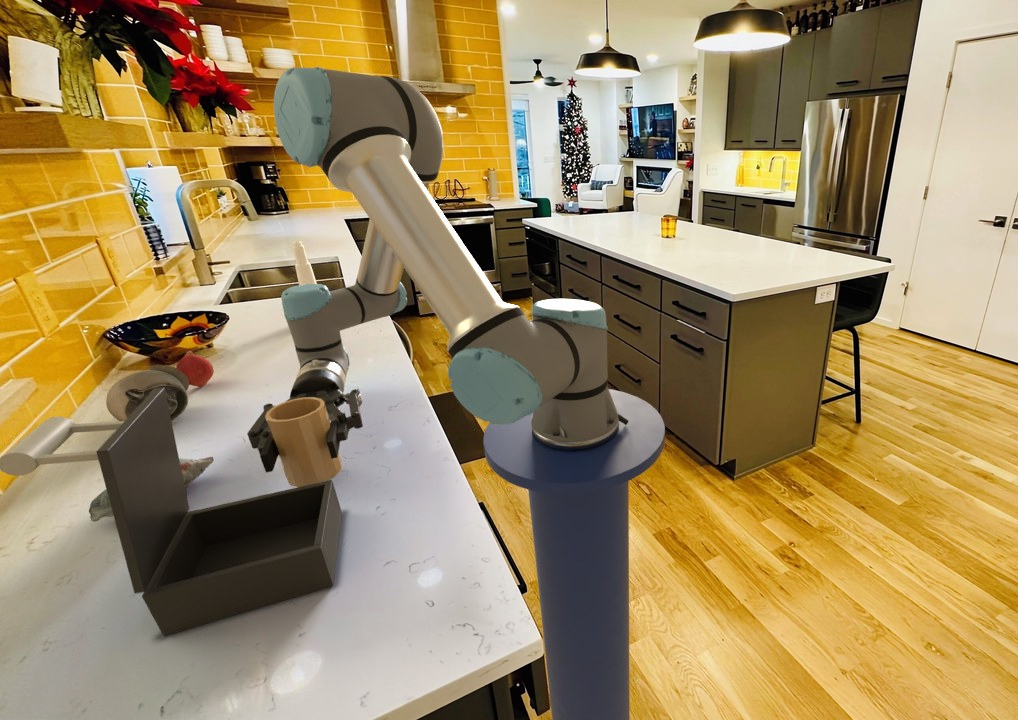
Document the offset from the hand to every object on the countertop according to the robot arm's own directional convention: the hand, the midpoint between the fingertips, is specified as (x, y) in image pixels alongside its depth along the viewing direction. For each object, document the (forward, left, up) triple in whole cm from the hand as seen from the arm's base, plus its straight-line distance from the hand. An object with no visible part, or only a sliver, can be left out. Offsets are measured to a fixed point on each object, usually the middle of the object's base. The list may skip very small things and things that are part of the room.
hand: (299, 456), depth 68 cm
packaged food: (+20, -10, -8) cm, 24 cm away
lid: (+10, +11, +6) cm, 16 cm away
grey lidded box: (+4, +11, -8) cm, 14 cm away
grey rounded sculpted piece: (+28, -37, -8) cm, 47 cm away
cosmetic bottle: (+9, -92, -8) cm, 93 cm away
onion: (+26, -52, -8) cm, 59 cm away
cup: (0, -5, -6) cm, 8 cm away
